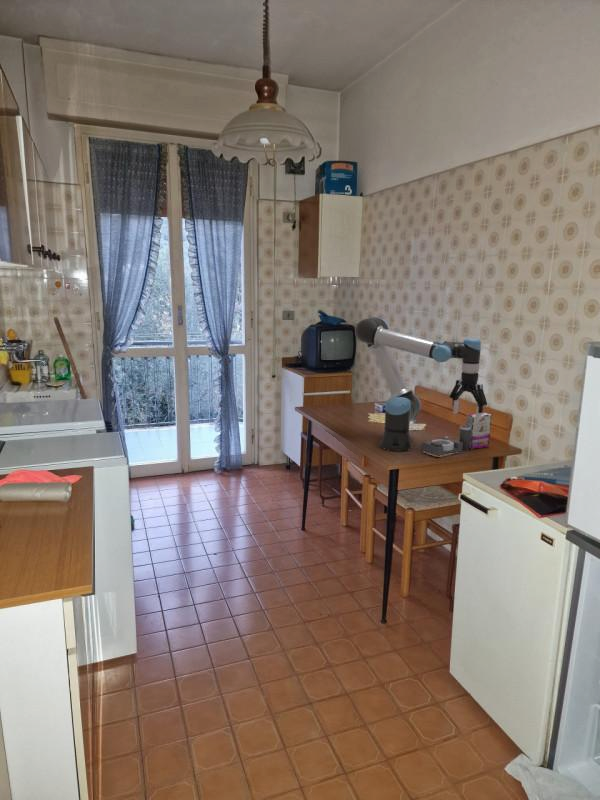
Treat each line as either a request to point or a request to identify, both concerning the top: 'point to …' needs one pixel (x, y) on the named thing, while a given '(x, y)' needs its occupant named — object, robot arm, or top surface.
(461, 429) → the lens
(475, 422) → the candy bar box
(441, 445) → the camera body
